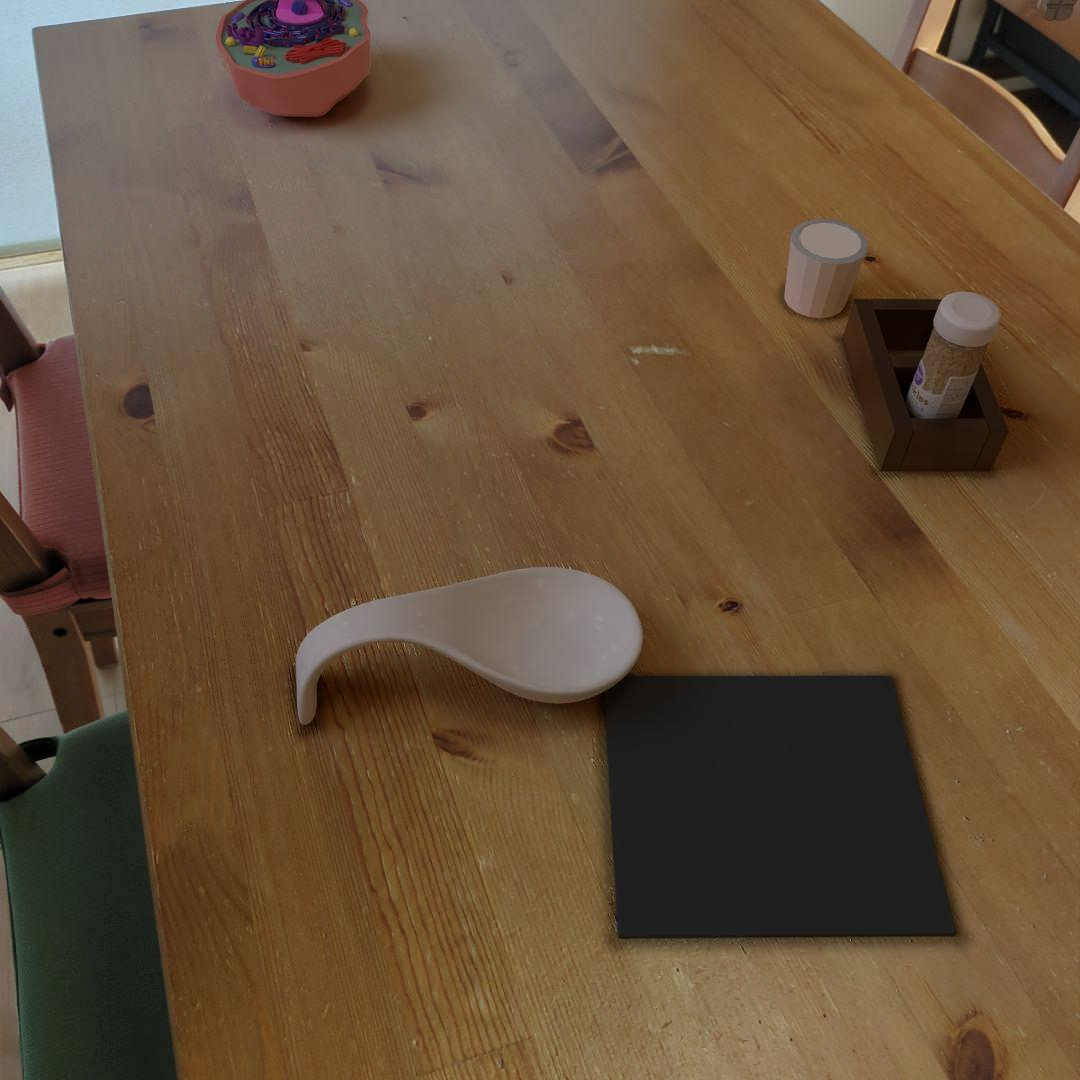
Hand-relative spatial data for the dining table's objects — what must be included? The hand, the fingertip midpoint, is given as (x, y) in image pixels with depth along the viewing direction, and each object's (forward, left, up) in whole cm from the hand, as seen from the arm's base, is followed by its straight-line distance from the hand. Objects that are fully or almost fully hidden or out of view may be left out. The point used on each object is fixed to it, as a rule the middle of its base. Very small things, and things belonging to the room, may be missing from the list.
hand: (1075, 51), depth 68 cm
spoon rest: (+37, +24, -33) cm, 55 cm away
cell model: (+58, -54, -33) cm, 86 cm away
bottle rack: (0, -4, -33) cm, 33 cm away
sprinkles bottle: (0, 0, -33) cm, 33 cm away
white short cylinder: (+6, -18, -33) cm, 38 cm away
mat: (+18, +33, -33) cm, 50 cm away
